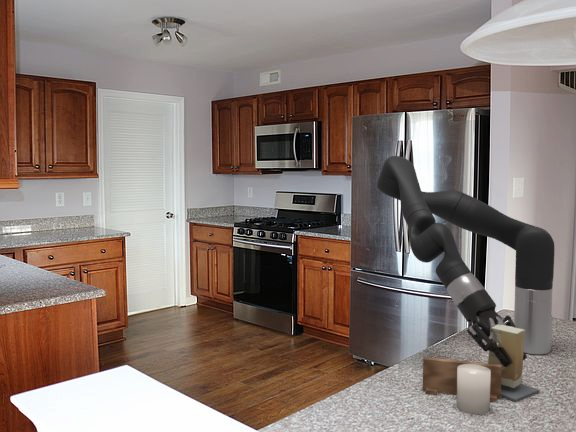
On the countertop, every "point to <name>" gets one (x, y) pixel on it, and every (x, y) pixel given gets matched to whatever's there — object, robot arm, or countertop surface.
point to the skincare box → (510, 353)
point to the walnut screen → (455, 376)
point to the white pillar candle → (473, 389)
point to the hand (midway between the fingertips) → (516, 362)
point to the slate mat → (517, 392)
